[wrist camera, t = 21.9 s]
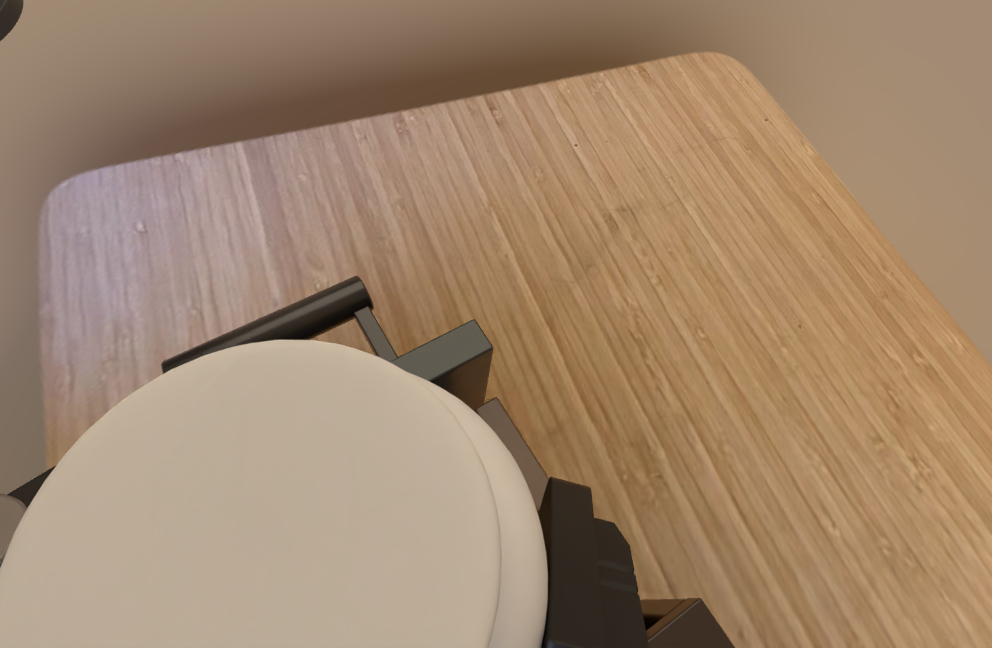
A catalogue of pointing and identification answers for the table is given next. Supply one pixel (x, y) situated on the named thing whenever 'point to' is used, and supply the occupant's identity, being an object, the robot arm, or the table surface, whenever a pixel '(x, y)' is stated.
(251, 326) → the drawer
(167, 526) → the supplement bottle
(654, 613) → the cabinet
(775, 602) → the table surface
